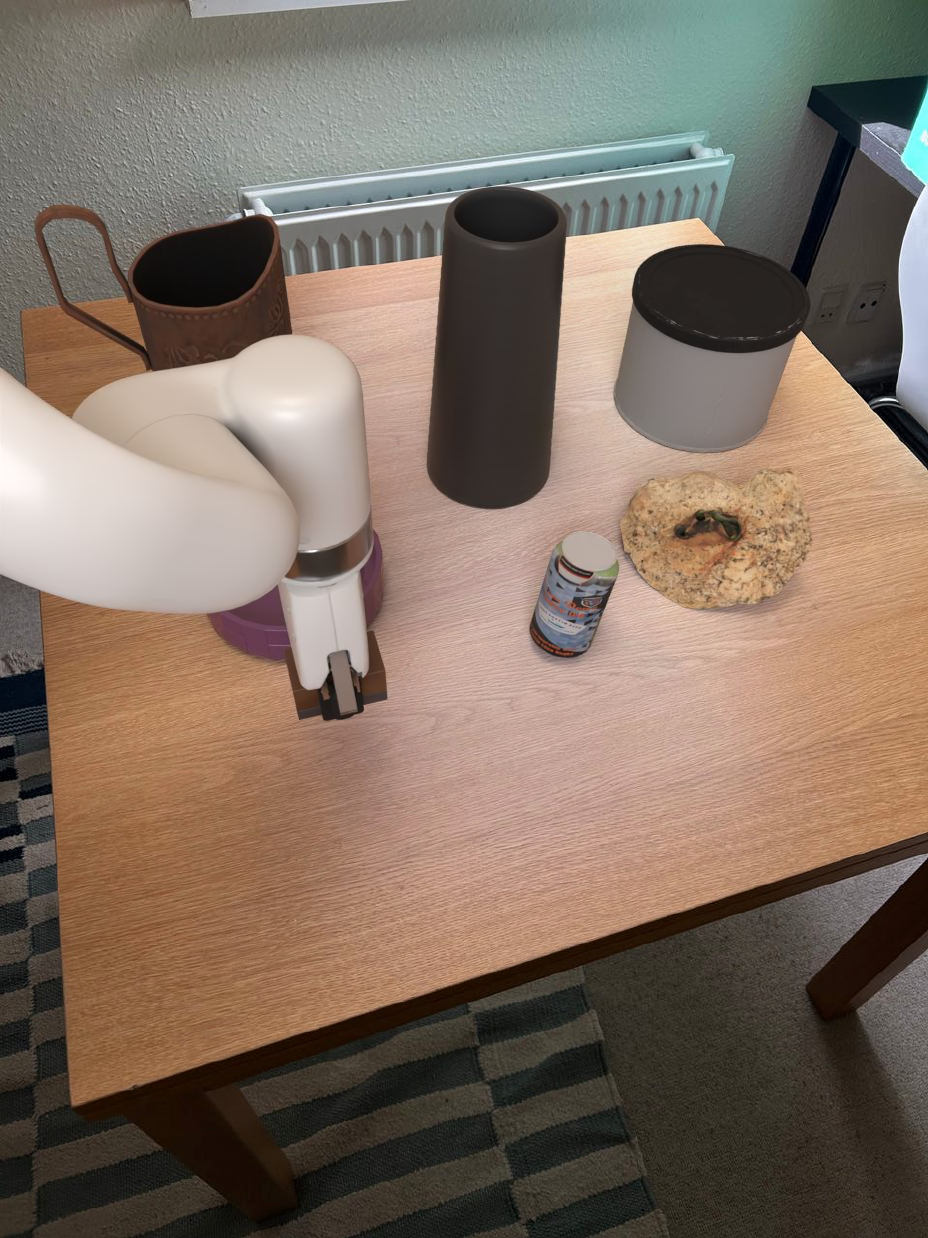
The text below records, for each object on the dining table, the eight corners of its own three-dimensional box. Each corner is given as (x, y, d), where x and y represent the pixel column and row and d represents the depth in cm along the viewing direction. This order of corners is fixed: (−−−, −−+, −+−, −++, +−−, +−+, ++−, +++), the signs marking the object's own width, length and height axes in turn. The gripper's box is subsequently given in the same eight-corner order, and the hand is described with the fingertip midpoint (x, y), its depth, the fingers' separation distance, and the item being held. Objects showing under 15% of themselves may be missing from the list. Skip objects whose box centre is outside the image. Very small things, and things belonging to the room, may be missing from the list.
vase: (537, 519, 97) (572, 267, 74) (413, 496, 98) (409, 242, 76) (558, 437, 105) (594, 187, 83) (442, 417, 107) (447, 167, 84)
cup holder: (329, 436, 104) (307, 225, 84) (111, 479, 99) (33, 264, 79) (293, 342, 115) (266, 136, 95) (95, 377, 109) (22, 165, 90)
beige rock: (645, 641, 95) (633, 614, 88) (625, 521, 101) (613, 486, 94) (826, 608, 90) (828, 576, 84) (795, 483, 96) (795, 444, 89)
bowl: (315, 693, 82) (309, 660, 78) (168, 614, 87) (156, 580, 83) (416, 571, 92) (416, 536, 88) (279, 506, 97) (273, 471, 93)
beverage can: (515, 640, 87) (526, 555, 77) (563, 598, 90) (579, 511, 81) (566, 678, 84) (584, 595, 75) (614, 633, 88) (637, 548, 78)
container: (665, 471, 102) (696, 357, 90) (583, 374, 113) (602, 261, 101) (801, 429, 107) (847, 317, 96) (711, 341, 118) (743, 229, 106)
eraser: (298, 720, 70) (292, 691, 67) (289, 679, 73) (283, 649, 69) (387, 699, 72) (385, 670, 68) (376, 659, 74) (373, 629, 71)
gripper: (234, 451, 62) (271, 618, 76) (275, 643, 52) (309, 793, 66) (343, 432, 63) (360, 600, 78) (403, 615, 53) (410, 768, 68)
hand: (336, 687), depth 72 cm, fingers closed on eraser, 4 cm apart
